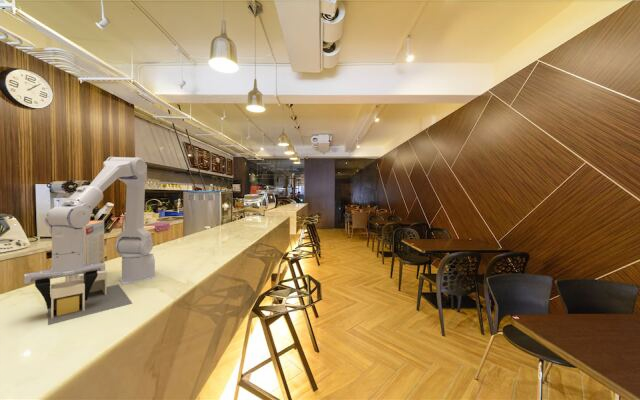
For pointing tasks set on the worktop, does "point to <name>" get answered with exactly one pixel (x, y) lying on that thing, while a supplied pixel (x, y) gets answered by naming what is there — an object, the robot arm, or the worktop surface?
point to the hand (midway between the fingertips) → (67, 303)
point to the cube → (67, 304)
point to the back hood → (98, 282)
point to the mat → (95, 304)
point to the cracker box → (92, 245)
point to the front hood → (67, 292)
